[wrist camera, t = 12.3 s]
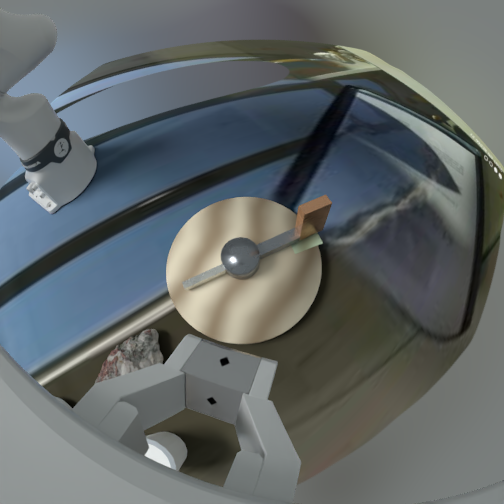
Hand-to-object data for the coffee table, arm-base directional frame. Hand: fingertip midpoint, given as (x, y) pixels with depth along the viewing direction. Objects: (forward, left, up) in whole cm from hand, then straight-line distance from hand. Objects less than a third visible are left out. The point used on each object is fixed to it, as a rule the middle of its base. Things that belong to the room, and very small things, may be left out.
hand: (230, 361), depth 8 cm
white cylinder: (-8, -17, -28) cm, 33 cm away
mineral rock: (-17, -8, -28) cm, 33 cm away
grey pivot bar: (-5, +14, -25) cm, 29 cm away
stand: (-6, +12, -27) cm, 31 cm away
